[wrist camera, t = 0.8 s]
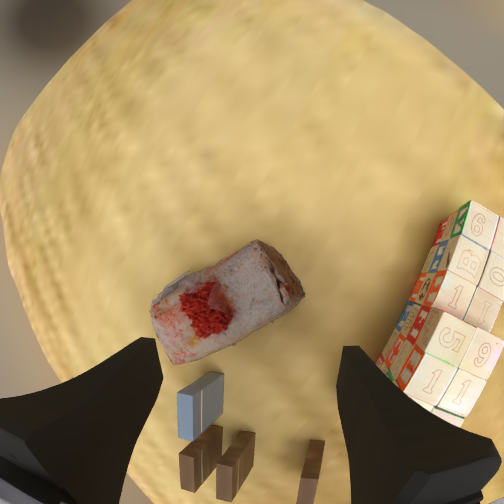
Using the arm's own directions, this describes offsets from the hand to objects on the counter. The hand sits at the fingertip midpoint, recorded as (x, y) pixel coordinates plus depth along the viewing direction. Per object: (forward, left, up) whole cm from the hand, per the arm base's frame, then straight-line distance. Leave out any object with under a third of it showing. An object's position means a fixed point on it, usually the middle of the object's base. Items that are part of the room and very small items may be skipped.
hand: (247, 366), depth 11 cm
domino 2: (-17, +6, -21) cm, 28 cm away
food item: (+1, +8, -22) cm, 23 cm away
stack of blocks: (-1, -13, -22) cm, 25 cm away
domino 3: (-17, -2, -21) cm, 27 cm away
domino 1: (-17, +10, -21) cm, 29 cm away
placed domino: (-10, +10, -21) cm, 25 cm away
